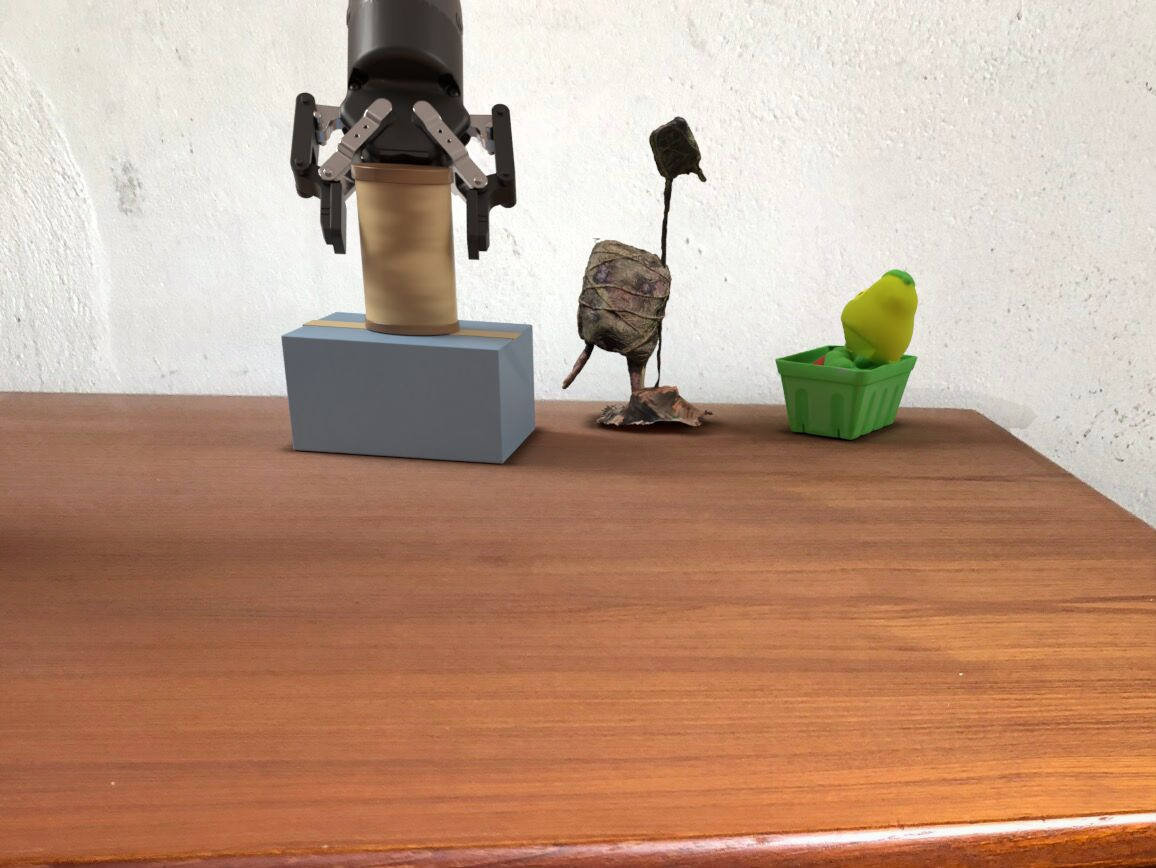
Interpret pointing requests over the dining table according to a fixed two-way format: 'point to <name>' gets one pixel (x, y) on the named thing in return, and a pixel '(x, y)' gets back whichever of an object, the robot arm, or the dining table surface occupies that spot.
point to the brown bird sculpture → (637, 298)
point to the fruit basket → (856, 365)
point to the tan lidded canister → (407, 248)
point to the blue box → (410, 390)
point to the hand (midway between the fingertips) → (405, 248)
